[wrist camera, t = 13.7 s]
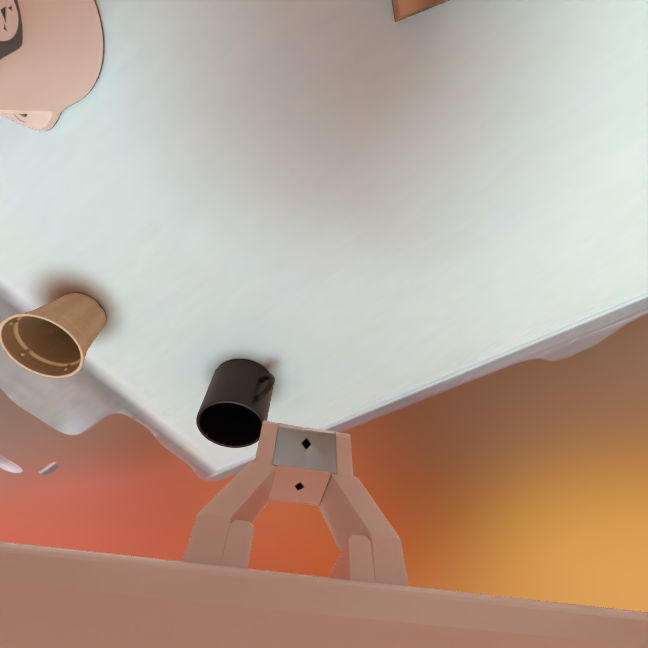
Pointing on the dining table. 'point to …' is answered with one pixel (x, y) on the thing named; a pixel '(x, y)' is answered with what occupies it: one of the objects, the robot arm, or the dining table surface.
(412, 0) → the wooden cutting board
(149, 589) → the robot arm
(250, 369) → the mug
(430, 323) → the dining table surface
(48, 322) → the flower pot
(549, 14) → the dining table surface
